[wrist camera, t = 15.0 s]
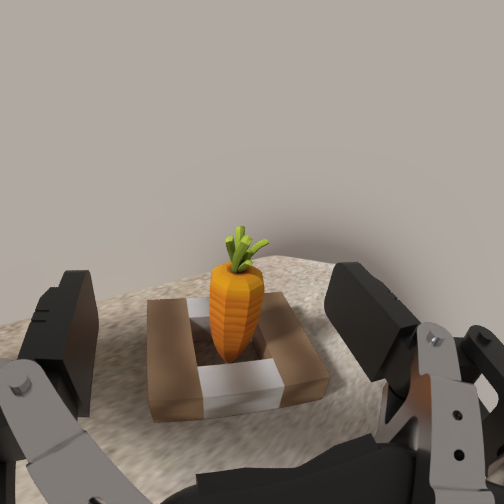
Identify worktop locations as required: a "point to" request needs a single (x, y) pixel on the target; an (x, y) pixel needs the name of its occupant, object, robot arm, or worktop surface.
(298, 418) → the worktop surface
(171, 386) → the brown and silver frame
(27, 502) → the worktop surface
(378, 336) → the robot arm
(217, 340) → the carrot
